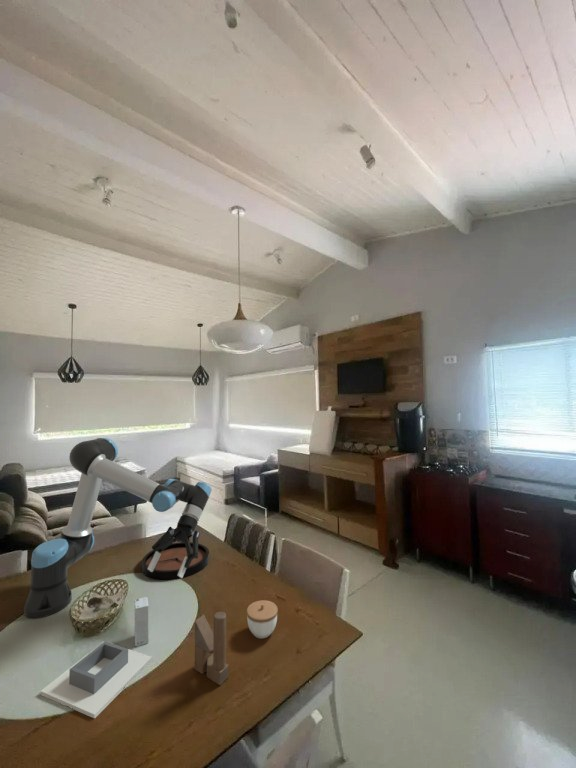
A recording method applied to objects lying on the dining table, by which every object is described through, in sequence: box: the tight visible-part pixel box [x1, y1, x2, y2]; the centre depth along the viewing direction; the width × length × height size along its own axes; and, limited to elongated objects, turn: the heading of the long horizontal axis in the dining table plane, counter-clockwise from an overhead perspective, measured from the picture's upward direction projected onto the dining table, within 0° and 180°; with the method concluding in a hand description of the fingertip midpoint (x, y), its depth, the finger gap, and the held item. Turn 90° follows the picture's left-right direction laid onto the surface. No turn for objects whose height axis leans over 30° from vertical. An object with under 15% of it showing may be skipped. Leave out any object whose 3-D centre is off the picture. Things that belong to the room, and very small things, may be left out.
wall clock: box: [141, 541, 210, 582], centre depth 164 cm, size 31×4×31 cm
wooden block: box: [194, 611, 229, 686], centre depth 98 cm, size 4×11×18 cm, turn 57°
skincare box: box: [134, 596, 150, 647], centre depth 112 cm, size 6×4×12 cm
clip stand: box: [40, 640, 153, 720], centre depth 97 cm, size 20×20×5 cm
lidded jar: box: [246, 599, 279, 639], centre depth 115 cm, size 11×11×9 cm
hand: (164, 573), depth 123 cm, fingers open, 13 cm apart
